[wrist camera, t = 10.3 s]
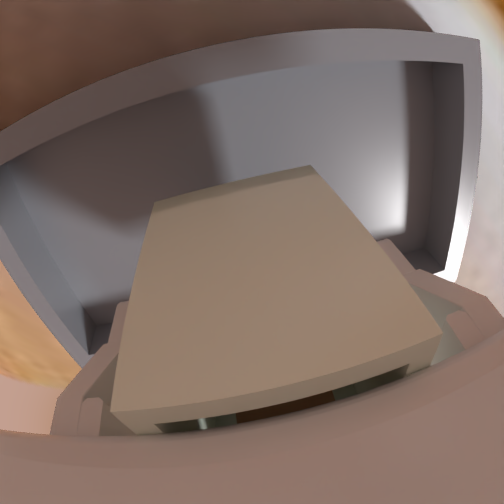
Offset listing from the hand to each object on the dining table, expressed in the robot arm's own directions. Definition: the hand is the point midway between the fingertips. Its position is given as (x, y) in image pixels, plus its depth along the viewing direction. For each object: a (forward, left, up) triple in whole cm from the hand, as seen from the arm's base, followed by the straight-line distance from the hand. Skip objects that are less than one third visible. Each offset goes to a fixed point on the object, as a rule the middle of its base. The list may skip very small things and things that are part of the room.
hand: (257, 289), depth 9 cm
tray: (0, 0, -6) cm, 6 cm away
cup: (0, 0, -2) cm, 2 cm away
